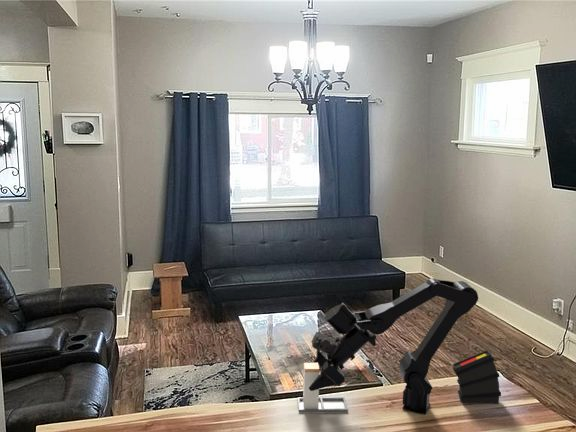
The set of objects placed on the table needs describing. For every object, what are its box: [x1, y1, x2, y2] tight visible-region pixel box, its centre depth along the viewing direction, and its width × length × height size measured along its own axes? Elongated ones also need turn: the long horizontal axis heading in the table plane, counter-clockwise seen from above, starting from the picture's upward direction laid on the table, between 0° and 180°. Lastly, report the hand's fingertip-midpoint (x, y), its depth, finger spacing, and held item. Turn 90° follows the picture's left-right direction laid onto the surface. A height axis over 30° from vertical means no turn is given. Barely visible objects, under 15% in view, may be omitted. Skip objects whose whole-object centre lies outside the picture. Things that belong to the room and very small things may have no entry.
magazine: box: [452, 350, 502, 405], centre depth 167 cm, size 4×13×15 cm, turn 88°
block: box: [302, 362, 320, 409], centre depth 161 cm, size 4×4×12 cm
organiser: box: [296, 396, 349, 414], centre depth 162 cm, size 14×7×2 cm, turn 92°
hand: (308, 381), depth 161 cm, fingers open, 9 cm apart
